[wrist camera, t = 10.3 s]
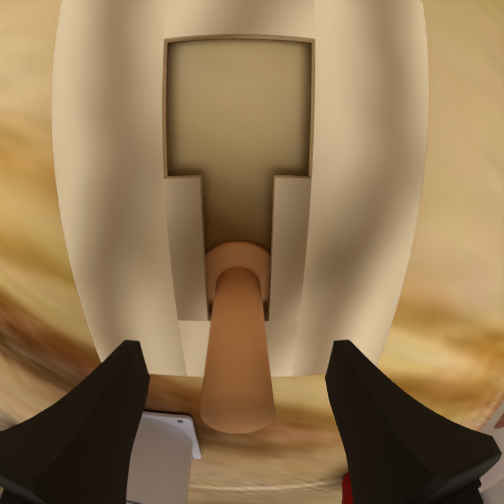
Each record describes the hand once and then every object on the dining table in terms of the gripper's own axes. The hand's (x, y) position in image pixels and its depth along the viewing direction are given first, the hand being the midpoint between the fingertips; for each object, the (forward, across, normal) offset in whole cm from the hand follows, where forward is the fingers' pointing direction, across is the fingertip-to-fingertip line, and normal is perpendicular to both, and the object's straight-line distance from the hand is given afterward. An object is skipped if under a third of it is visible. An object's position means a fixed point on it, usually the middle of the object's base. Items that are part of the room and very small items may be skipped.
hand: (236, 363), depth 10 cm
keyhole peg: (+7, 0, 0) cm, 7 cm away
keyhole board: (+7, 0, -5) cm, 8 cm away
